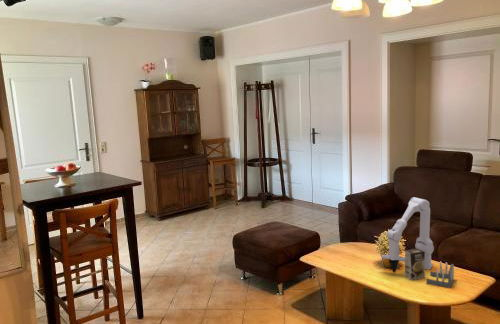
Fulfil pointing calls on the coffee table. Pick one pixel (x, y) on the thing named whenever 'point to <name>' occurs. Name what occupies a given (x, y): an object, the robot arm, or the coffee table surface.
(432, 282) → the slot rack
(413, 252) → the coffee box
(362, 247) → the coffee table surface
